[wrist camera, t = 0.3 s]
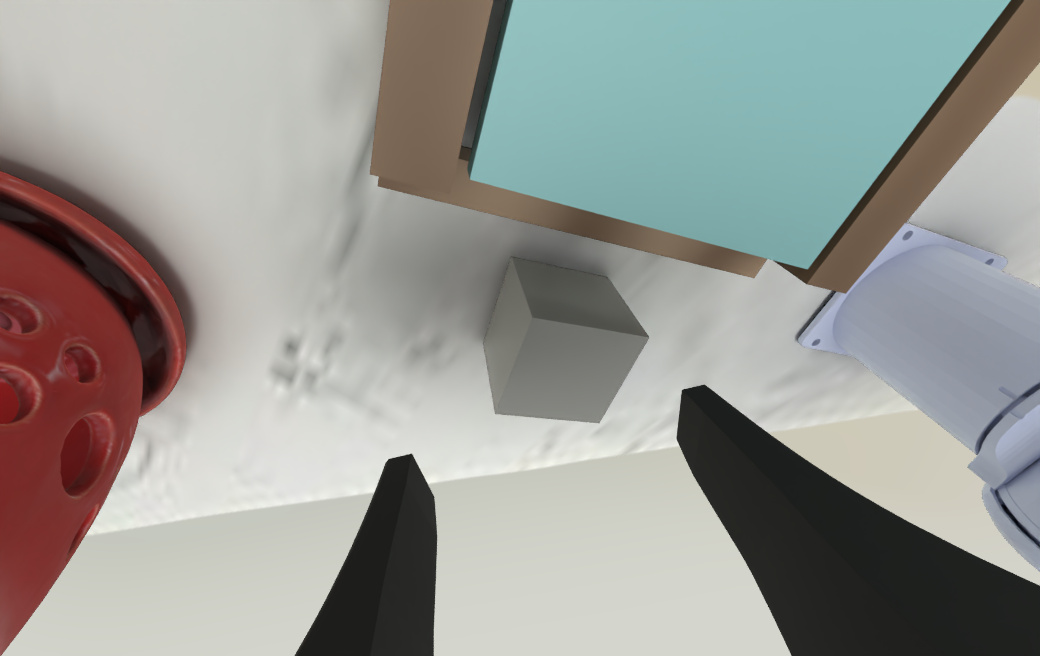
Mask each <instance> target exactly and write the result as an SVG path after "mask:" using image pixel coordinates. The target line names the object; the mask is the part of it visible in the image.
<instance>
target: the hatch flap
mask: <svg viewBox="0 0 1040 656" xmlns="http://www.w3.org/2000/svg"><path fill="white" fill-rule="evenodd" d="M1010 1H1011V0H507V1H506V6H505V10H504V14H503V18H502V23H501V27H500V31H499V35H498V40H497V44H496V48H495V52H494V57H493V61H492V65H491V69H490V73H489V78H488V82H487V86H486V90H485V95H484V99H483V103H482V107H481V112H480V116H479V120H478V124H477V128H476V133H475V137H474V141H473V145H472V150H471V154H470V158H469V162H468V167H467V170H468V174H469V178H470V180H473V181H477V182H481V183H485V184H488V185H492V186H496V187H500V188H503V189H507V190H511V191H515V192H518V193H522V194H526V195H530V196H533V197H537V198H541V199H545V200H548V201H552V202H556V203H560V204H563V205H567V206H571V207H575V208H579V209H582V210H586V211H590V212H594V213H597V214H601V215H605V216H609V217H612V218H616V219H620V220H624V221H627V222H631V223H635V224H639V225H642V226H646V227H650V228H654V229H657V230H661V231H665V232H669V233H672V234H676V235H680V236H684V237H687V238H691V239H695V240H699V241H702V242H706V243H710V244H714V245H717V246H721V247H725V248H729V249H732V250H736V251H740V252H744V253H748V254H751V255H755V256H759V257H763V258H766V259H770V260H774V261H778V262H781V263H785V264H789V265H793V266H796V267H800V268H804V269H808V268H809V267H810V266H811V264H812V263H813V262H814V260H815V259H816V258H817V256H818V255H819V254H820V252H821V251H822V250H823V248H824V247H825V246H826V244H827V243H828V242H829V240H830V239H831V238H832V236H833V235H834V234H835V232H836V231H837V230H838V228H839V227H840V226H841V224H842V223H843V222H844V221H845V219H846V218H847V217H848V215H849V214H850V213H851V211H852V210H853V209H854V207H855V206H856V205H857V203H858V202H859V201H860V199H861V198H862V197H863V195H864V194H865V193H866V191H867V190H868V189H869V187H870V186H871V185H872V183H873V182H874V181H875V179H876V178H877V177H878V176H879V174H880V173H881V172H882V170H883V169H884V168H885V166H886V165H887V164H888V162H889V161H890V160H891V158H892V157H893V156H894V154H895V153H896V152H897V150H898V149H899V148H900V146H901V145H902V144H903V142H904V141H905V140H906V138H907V137H908V136H909V134H910V133H911V132H912V131H913V129H914V128H915V127H916V125H917V124H918V123H919V121H920V120H921V119H922V117H923V116H924V115H925V113H926V112H927V111H928V109H929V108H930V107H931V105H932V104H933V103H934V101H935V100H936V99H937V97H938V96H939V95H940V93H941V92H942V91H943V89H944V88H945V87H946V86H947V84H948V83H949V82H950V80H951V79H952V78H953V76H954V75H955V74H956V72H957V71H958V70H959V68H960V67H961V66H962V64H963V63H964V62H965V60H966V59H967V58H968V56H969V55H970V54H971V52H972V51H973V50H974V48H975V47H976V46H977V44H978V43H979V42H980V41H981V39H982V38H983V37H984V35H985V34H986V33H987V31H988V30H989V29H990V27H991V26H992V25H993V23H994V22H995V21H996V19H997V18H998V17H999V15H1000V14H1001V13H1002V11H1003V10H1004V9H1005V7H1006V6H1007V5H1008V3H1009V2H1010Z"/></svg>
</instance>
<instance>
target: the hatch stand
mask: <svg viewBox="0 0 1040 656" xmlns="http://www.w3.org/2000/svg"><path fill="white" fill-rule="evenodd" d="M492 5H493V0H390V4H389V13H388V22H387V30H386V39H385V48H384V56H383V65H382V73H381V82H380V91H379V99H378V108H377V117H376V125H375V134H374V142H373V151H372V160H371V168H370V174H371V175H375V176H379V179H378V186H379V187H383V188H387V189H391V190H395V191H399V192H403V193H407V194H411V195H416V196H420V197H424V198H428V199H432V200H436V201H440V202H444V203H448V204H452V205H457V206H461V207H465V208H469V209H473V210H477V211H481V212H485V213H489V214H493V215H498V216H502V217H506V218H510V219H514V220H518V221H522V222H526V223H530V224H534V225H538V226H543V227H547V228H551V229H555V230H559V231H563V232H567V233H571V234H575V235H579V236H584V237H588V238H592V239H596V240H600V241H604V242H608V243H612V244H616V245H620V246H625V247H629V248H633V249H637V250H641V251H645V252H649V253H653V254H657V255H661V256H665V257H670V258H674V259H678V260H682V261H686V262H690V263H694V264H698V265H702V266H706V267H711V268H715V269H719V270H723V271H727V272H731V273H735V274H739V275H743V276H747V277H751V278H755V276H756V275H757V273H758V272H759V270H760V269H761V267H762V266H763V265H764V263H765V262H766V260H767V259H766V258H763V257H759V256H755V255H751V254H748V253H744V252H740V251H736V250H732V249H729V248H725V247H721V246H717V245H714V244H710V243H706V242H702V241H699V240H695V239H691V238H687V237H684V236H680V235H676V234H672V233H669V232H665V231H661V230H657V229H654V228H650V227H646V226H642V225H639V224H635V223H631V222H627V221H624V220H620V219H616V218H612V217H609V216H605V215H601V214H597V213H594V212H590V211H586V210H582V209H579V208H575V207H571V206H567V205H563V204H560V203H556V202H552V201H548V200H545V199H541V198H537V197H533V196H530V195H526V194H522V193H518V192H515V191H511V190H507V189H503V188H500V187H496V186H492V185H488V184H485V183H481V182H477V181H473V180H470V178H469V174H468V170H467V167H468V162H469V158H470V154H471V150H472V149H469V148H465V147H462V146H461V144H462V139H463V135H464V130H465V126H466V121H467V117H468V112H469V108H470V103H471V99H472V94H473V90H474V85H475V81H476V76H477V72H478V67H479V63H480V58H481V54H482V49H483V45H484V40H485V36H486V31H487V27H488V23H489V18H490V14H491V9H492ZM1039 62H1040V0H1011V1H1010V2H1009V3H1008V5H1007V6H1006V7H1005V9H1004V10H1003V11H1002V13H1001V14H1000V15H999V17H998V18H997V19H996V21H995V22H994V23H993V25H992V26H991V27H990V29H989V30H988V31H987V33H986V34H985V35H984V37H983V38H982V39H981V41H980V42H979V43H978V44H977V46H976V47H975V48H974V50H973V51H972V52H971V54H970V55H969V56H968V58H967V59H966V60H965V62H964V63H963V64H962V66H961V67H960V68H959V70H958V71H957V72H956V74H955V75H954V76H953V78H952V79H951V80H950V82H949V83H948V84H947V86H946V87H945V88H944V89H943V91H942V92H941V93H940V95H939V96H938V97H937V99H936V100H935V101H934V103H933V104H932V105H931V107H930V108H929V109H928V111H927V112H926V113H925V115H924V116H923V117H922V119H921V120H920V121H919V123H918V124H917V125H916V127H915V128H914V129H913V131H912V132H911V133H910V134H909V136H908V137H907V138H906V140H905V141H904V142H903V144H902V145H901V146H900V148H899V149H898V150H897V152H896V153H895V154H894V156H893V157H892V158H891V160H890V161H889V162H888V164H887V165H886V166H885V168H884V169H883V170H882V172H881V173H880V174H879V176H878V177H877V178H876V179H875V181H874V182H873V183H872V185H871V186H870V187H869V189H868V190H867V191H866V193H865V194H864V195H863V197H862V198H861V199H860V201H859V202H858V203H857V205H856V206H855V207H854V209H853V210H852V211H851V213H850V214H849V215H848V217H847V218H846V219H845V221H844V222H843V223H842V224H841V226H840V227H839V228H838V230H837V231H836V232H835V234H834V235H833V236H832V238H831V239H830V240H829V242H828V243H827V244H826V246H825V247H824V248H823V250H822V251H821V252H820V254H819V255H818V256H817V258H816V259H815V260H814V262H813V263H812V264H811V266H810V267H809V268H808V269H804V268H800V267H796V266H793V265H789V264H785V263H781V262H778V261H775V262H776V263H777V264H779V265H780V266H782V267H783V268H785V269H786V270H787V271H789V272H790V273H792V274H793V275H795V276H796V277H797V278H799V279H800V280H802V281H803V282H804V283H806V284H809V285H813V286H817V287H821V288H825V289H829V290H833V291H837V292H841V293H845V294H846V293H847V292H848V291H849V289H850V288H851V287H852V286H853V285H854V283H855V282H856V281H857V280H858V279H859V277H860V276H861V275H862V274H863V273H864V271H865V270H866V269H867V268H868V267H869V265H870V264H871V263H872V262H873V261H874V260H875V258H876V257H877V256H878V255H879V254H880V252H881V251H882V250H883V249H884V248H885V246H886V245H887V244H888V243H889V242H890V240H891V239H892V238H893V237H894V236H895V234H896V233H897V232H898V231H899V230H900V228H901V227H902V226H903V225H904V224H905V223H906V221H907V220H908V219H909V218H910V217H911V215H912V214H913V213H914V212H915V211H916V209H917V208H918V207H919V206H920V205H921V203H922V202H923V201H924V200H925V199H926V197H927V196H928V195H929V194H930V193H931V191H932V190H933V189H934V188H935V187H936V186H937V184H938V183H939V182H940V181H941V180H942V178H943V177H944V176H945V175H946V174H947V172H948V171H949V170H950V169H951V168H952V166H953V165H954V164H955V163H956V162H957V160H958V159H959V158H960V157H961V156H962V154H963V153H964V152H965V151H966V150H967V149H968V147H969V146H970V145H971V144H972V143H973V141H974V140H975V139H976V138H977V137H978V135H979V134H980V133H981V132H982V131H983V129H984V128H985V127H986V126H987V125H988V123H989V122H990V121H991V120H992V119H993V117H994V116H995V115H996V114H997V113H998V111H999V110H1000V109H1001V108H1002V107H1003V106H1004V104H1005V103H1006V102H1007V101H1008V100H1009V98H1010V97H1011V96H1012V95H1013V94H1014V92H1015V91H1016V90H1017V89H1018V88H1019V86H1020V85H1021V84H1022V83H1023V82H1024V80H1025V79H1026V78H1027V77H1028V75H1029V74H1030V73H1031V72H1032V71H1033V70H1034V68H1035V67H1036V66H1037V65H1038V64H1039ZM773 261H774V260H773Z"/></svg>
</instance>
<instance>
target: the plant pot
mask: <svg viewBox="0 0 1040 656" xmlns="http://www.w3.org/2000/svg"><path fill="white" fill-rule="evenodd" d="M185 357H186V334H185V330H184V325H183V322H182V318H181V315H180V312H179V310H178V307H177V305H176V303H175V301H174V299H173V297H172V295H171V293H170V292H169V290H168V288H167V287H166V285H165V284H164V282H163V281H162V279H161V278H160V277H159V276H158V274H157V273H156V272H155V270H154V269H153V268H152V267H151V265H150V264H149V263H148V262H147V261H146V259H145V258H144V257H143V256H142V255H140V254H139V253H138V252H137V251H136V250H135V249H134V248H133V247H132V246H131V245H130V244H129V243H128V242H126V241H125V240H124V239H123V238H122V237H120V236H119V235H118V234H117V233H115V232H114V231H113V230H111V229H110V228H109V227H107V226H106V225H105V224H103V223H102V222H100V221H99V220H97V219H96V218H94V217H93V216H91V215H90V214H88V213H87V212H85V211H83V210H82V209H80V208H78V207H77V206H75V205H73V204H72V203H70V202H68V201H66V200H64V199H63V198H61V197H59V196H57V195H55V194H53V193H51V192H49V191H46V190H44V189H42V188H40V187H38V186H35V185H33V184H31V183H28V182H26V181H24V180H21V179H19V178H17V177H14V176H12V175H9V174H7V173H4V172H2V171H0V656H1V655H2V654H3V652H4V651H5V650H6V649H7V647H8V646H9V645H10V643H11V642H12V641H13V639H14V638H15V637H16V635H17V634H18V633H19V632H20V630H21V629H22V628H23V626H24V625H25V624H26V622H27V621H28V620H29V618H30V617H31V616H32V614H33V613H34V612H35V610H36V609H37V607H38V606H39V605H40V603H41V602H42V601H43V599H44V598H45V596H46V595H47V593H48V591H49V590H50V589H51V587H52V586H53V584H54V583H55V581H56V580H57V578H58V577H59V575H60V574H61V572H62V571H63V570H64V568H65V567H66V565H67V564H68V562H69V561H70V559H71V557H72V556H73V554H74V553H75V551H76V549H77V548H78V546H79V545H80V543H81V541H82V540H83V538H84V537H85V535H86V533H87V532H88V530H89V529H90V527H91V525H92V523H93V522H94V520H95V518H96V516H97V515H98V513H99V511H100V509H101V507H102V506H103V504H104V502H105V500H106V498H107V496H108V494H109V491H110V489H111V487H112V485H113V483H114V481H115V479H116V477H117V475H118V472H119V470H120V468H121V466H122V464H123V462H124V460H125V458H126V456H127V454H128V451H129V449H130V446H131V443H132V440H133V437H134V434H135V431H136V427H137V424H138V419H139V417H140V416H143V415H145V414H146V413H148V412H149V411H151V410H152V409H154V408H155V407H156V406H157V405H159V404H160V403H161V402H162V401H163V400H164V399H165V398H166V397H167V396H168V395H169V394H170V392H171V391H172V390H173V388H174V387H175V385H176V383H177V381H178V380H179V378H180V375H181V372H182V370H183V366H184V362H185Z"/></svg>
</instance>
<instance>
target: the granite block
mask: <svg viewBox="0 0 1040 656" xmlns="http://www.w3.org/2000/svg"><path fill="white" fill-rule="evenodd" d="M648 339H649V336H648V335H647V333H646V332H645V330H644V329H643V328H642V326H641V325H640V323H639V322H638V320H637V319H636V318H635V316H634V315H633V313H632V312H631V310H630V309H629V307H628V306H627V305H626V303H625V302H624V300H623V299H622V297H621V296H620V294H619V293H618V292H617V290H616V289H615V287H614V286H613V284H612V283H611V282H610V280H609V279H608V277H604V276H599V275H594V274H590V273H585V272H580V271H576V270H571V269H566V268H562V267H557V266H552V265H548V264H543V263H539V262H534V261H529V260H525V259H520V258H515V257H511V259H510V262H509V265H508V268H507V271H506V274H505V277H504V280H503V284H502V287H501V290H500V293H499V296H498V299H497V302H496V305H495V308H494V311H493V314H492V317H491V320H490V323H489V326H488V329H487V332H486V335H485V339H484V342H483V345H484V351H485V357H486V363H487V369H488V375H489V381H490V387H491V392H492V398H493V404H494V410H495V414H503V415H514V416H525V417H536V418H547V419H558V420H569V421H580V422H592V423H600V421H601V419H602V418H603V416H604V414H605V412H606V411H607V409H608V407H609V406H610V404H611V402H612V400H613V399H614V397H615V395H616V394H617V392H618V390H619V388H620V387H621V385H622V383H623V382H624V380H625V378H626V376H627V375H628V373H629V371H630V370H631V368H632V366H633V365H634V363H635V361H636V359H637V358H638V356H639V354H640V353H641V351H642V349H643V347H644V346H645V344H646V342H647V341H648Z"/></svg>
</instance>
